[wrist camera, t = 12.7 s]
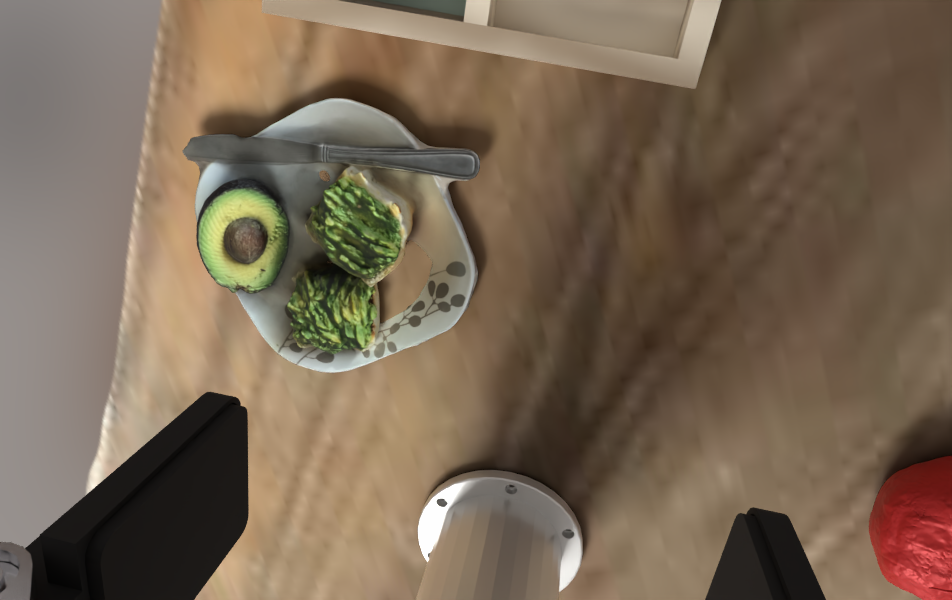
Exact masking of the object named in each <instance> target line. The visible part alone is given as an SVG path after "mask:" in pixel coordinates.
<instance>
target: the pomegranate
mask: <svg viewBox="0 0 952 600" xmlns="http://www.w3.org/2000/svg"><path fill="white" fill-rule="evenodd" d="M869 534H870V538H871V542H872V545H873V548H874V551H875V554H876V557H877V561H878V564H879V567H880V569H881V572H882V574H883V575H884V577H885V578H886V579H887V581H889V582H890V583H893V585H895V586H897V587H899V588H900V589H903V590H905V591H908V592H910V593H913V594H914V595H916V596H918V597H919V598H921V599H922V600H952V456H946V457H941V458H937V459H933V460H930V461H927V462H923V463H918V464H913V465H911V466H910V467H908V468H906V469H903V470H899V471H897V472H896V473H895V474H893V475H892V476H891V477H890V478H889V479H888V480H887V481H886V482H885V483H884V485H883V486H882V487H881V489H880V491H879V493H878V495H877V497H876V500H875V504H874V506H873V510H872V512H871V515H870V520H869Z"/></svg>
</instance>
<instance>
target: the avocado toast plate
mask: <svg viewBox="0 0 952 600" xmlns="http://www.w3.org/2000/svg"><path fill="white" fill-rule="evenodd" d="M183 153H184V155H185V156H186V157H187V159H188V160H191V161H194V162H195V163H196V164H197V165H198V166H199V169H200V177H199V183H198V187H197V191H196V198H195V214H196V219H197V246H198V250H199V253H200V256H201V259H202V261H203V264H204V265H205V267H206V269H207V271H208V273H209V274H210V275H211V277H212V278H213V279H214V280H215V281H216V283H217V284H219V285H220V286H222V287H226V288H228V289H229V290H230V291H231V292H232V293H235V294H236V295H237V296H238V298H239V299H240V301H241V304H242V306H243V307H244V309H245V310H246V312H247V313H248V315H249V316H250V318H251V320H252V322H253V323H254V325H255V326H256V328H257V329H258V331H259V332H260V334H261V335H262V336H263V338H264V339H265V340H266V342H267V343H268V344H269V345H270V346H271V347H272V348H273V350H274V351H275V352H276V353H277V354H279V355H280V356H282V357H283V358H285V359H286V360H288V361H290V362H292V363H294V364H296V365H299V366H302V367H305V368H308V369H311V370H315V371H318V372H326V373H336V372H343V371H349V370H352V369H355V368H358V367H361V366H364V365H367V364H369V363H372V362H374V361H377V360H379V359H381V358H384V357H386V356H388V355H391V354H394V353H396V352H399V351H401V350H404V349H406V348H408V347H412V346H416V345H419V344H421V343H422V342H424V341H427V340H429V339H431V338H432V337H434V336H436V335H438V334H441V333H443V332H445V331H447V330H449V329H450V328H451V327H452V326H453V325H455V324H456V322H457V321H458V320H459V318H460V317H461V316H462V314H463V313H464V312H465V311H466V309H467V308H468V307H469V302H470V299H471V297H472V294H473V292H474V288H475V285H476V282H477V279H478V269H477V265H476V261H475V257H474V255H473V252H472V250H471V247H470V244H469V242H468V239H467V236H466V233H465V231H464V229H463V225H462V223H461V221H460V219H459V217H458V215H457V213H456V211H455V209H454V207H453V204H452V200H451V197H450V194H449V190H448V185H449V183H450V182H452V181H456V180H461V181H468V180H470V179H472V178H474V177H476V175H477V174H478V172H479V169H480V159H479V156H478V155H477V154H476V153H475V152H474V151H472V150H470V149H465V148H462V149H461V148H443V147H432V146H428V145H426V144H424V143H422V142H421V141H419V140H418V139H417V138H416V137H415V136H414V135H413V134H412V133H411V132H409V130H408V129H407V128H406V127H405V126H404V125H403V124H402V123H401V122H399V121H398V120H397V119H396V118H395V117H393V116H391V115H389V114H386V113H384V112H382V111H380V110H378V109H376V108H374V107H371V106H369V105H366V104H363V103H360V102H356V101H354V100H351V99H347V98H329V99H325V100H323V101H319V102H316V103H313V104H310V105H308V106H306V107H304V108H302V109H299V110H298V111H296V112H294V113H293V114H291V115H289V116H287V117H286V118H283V119H282V120H280V121H278V122H276V123H274V124H272V125H270V126H269V127H267V128H266V129H264V130H263V131H261V132H259V133H258V134H257V135H254V136H251V137H248V138H242V137H239V136H237V135H234V134H214V135H205V136H199V137H193V138H191V139H190V141H189V143H188V145H187V146H186V147H185V149H184V150H183ZM322 170H325V171H327V172H328V174H329V175H330V181H328V182H327V181H323V180H322V179H321V178H320V176H319V172H320V171H322ZM409 240H412V241H413V242H415V243H416V244H417V245H418V246H419V247H420V248H422V249H423V250H424V252H425V253H426V254H427V256H428V257H429V258H430V259H431V261H432V263H433V264H432V268H431V272H430V276H429V279H428V281H427V284H426V285H425V287H424V288H423V290H422V292H421V294H420V296H419V297H418V298H417V300H416V301H415V302H414V303H413V304H412V305H410V306H409V307H408V308H407V309H406V310H405V311H403V312H402V313H400V314H398V315H396V316H395V317H393V318H391V319H389V320H387V321H385V322H383V323H380V308H379V304H380V301H379V292H378V286H377V282H378V281H380V280H382V279H383V278H384V277H386V276H387V275H388V274H389V273H391V272H392V271H393V270H395V268H396V267H397V266H398V265H399V264H400V263H401V261H402V259H403V257H404V254H405V246H406V241H409ZM329 260H331V261H332V262H333V263H334V264H328V263H327V261H329Z"/></svg>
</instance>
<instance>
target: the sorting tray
mask: <svg viewBox="0 0 952 600" xmlns="http://www.w3.org/2000/svg"><path fill="white" fill-rule="evenodd" d="M720 3H721V0H262V13H267V14H273V15H278V16H284V17H290V18H295V19H301V20H307V21H312V22H318V23H324V24H329V25H335V26H341V27H346V28H352V29H358V30H363V31H369V32H375V33H380V34H386V35H392V36H397V37H403V38H409V39H414V40H420V41H426V42H431V43H437V44H443V45H448V46H454V47H460V48H465V49H471V50H477V51H482V52H488V53H494V54H499V55H505V56H511V57H516V58H522V59H528V60H533V61H539V62H545V63H550V64H556V65H562V66H567V67H573V68H579V69H584V70H590V71H596V72H601V73H607V74H613V75H618V76H624V77H630V78H635V79H641V80H647V81H652V82H658V83H664V84H669V85H675V86H681V87H686V88H692V89H696V86H697V82H698V79H699V76H700V72H701V69H702V65H703V62H704V58H705V55H706V51H707V48H708V45H709V41H710V38H711V34H712V31H713V27H714V24H715V21H716V17H717V14H718V10H719V7H720Z"/></svg>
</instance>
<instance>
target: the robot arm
mask: <svg viewBox="0 0 952 600" xmlns="http://www.w3.org/2000/svg"><path fill="white" fill-rule="evenodd" d="M247 521H248V417H247V409H246V408H245V407H243V406H241V405H240V401H239V399H238V398H236V397H232V396H228V395H223V394H218V393H214V392H207V393H205V394H203V395H202V396H201V397H200V398H199V399H198V400H196V401H195V402H194V403H193V404H192V405H191V406H189V407H188V408H187V409H186V410H185V411H184V412H182V413H181V414H180V415H179V416H178V417H177V418H175V419H174V420H173V421H172V422H171V423H170V424H168V425H167V426H166V427H165V428H164V429H163V430H161V431H160V432H159V433H158V434H157V435H156V436H154V437H153V438H152V439H151V440H150V441H149V442H147V443H146V444H145V445H144V446H143V447H142V448H140V449H139V450H138V451H137V452H136V453H135V454H133V455H132V456H131V457H130V458H129V459H128V460H127V461H125V462H124V463H123V464H122V465H121V466H120V467H118V468H117V469H116V470H115V471H114V472H113V473H111V474H110V475H109V476H108V477H107V478H106V479H104V480H103V481H102V482H101V483H100V484H99V485H97V486H96V487H95V488H94V489H93V490H92V491H90V492H89V493H88V494H87V495H86V496H85V497H83V498H82V499H81V500H80V501H79V502H78V503H76V504H75V505H74V506H73V507H72V508H71V509H70V510H69V511H67V512H66V513H65V514H64V515H62V516H61V517H60V518H59V519H58V520H57V521H55V522H54V523H53V524H52V525H51V526H50V527H48V528H47V529H46V530H45V531H44V532H43V533H42V534H40V536H39V537H38V538H37V539H36V540H34V541H33V542H32V543H31V544H30V545H29V546H28V547H26V548H24V547H23V546H20V545H17V544H14V543H11V542H0V600H194V599H195V598H196V596H197V595H198V594H199V592H200V591H201V589H202V588H203V587H204V585H205V584H206V583H207V581H208V580H209V579H210V577H211V576H212V574H213V573H214V572H215V570H216V569H217V568H218V566H219V565H220V564H221V562H222V561H223V559H224V558H225V557H226V555H227V554H228V553H229V551H230V550H231V549H232V547H233V546H234V544H235V543H236V542H237V540H238V539H239V538H240V536H241V535H242V533H243V531H244V529H245V527H246V524H247ZM418 540H419V544H420V548H421V551H422V554H423V555H424V557H425V559H426V561H427V565H426V568H425V572H424V575H423V578H422V581H421V585H420V588H419V591H418V594H417V597H416V600H559V592H560V591H562V590H563V589H564V588H565V587H567V586H568V585H569V584H570V582H571V581H572V580H573V579H574V577H575V576H576V574H577V572H578V570H579V567H580V565H581V560H582V554H583V538H582V533H581V528H580V525H579V523H578V521H577V518H576V516H575V514H574V513H573V511H572V510H571V509H570V507H569V506H568V505H567V503H566V502H565V501H564V500H563V499H562V498H561V497H560V496H559V495H557V494H556V493H555V492H554V491H552V490H551V489H549V488H548V487H546V486H545V485H543V484H542V483H540V482H538V481H535V480H533V479H531V478H529V477H527V476H523V475H520V474H516V473H512V472H507V471H499V470H478V471H473V472H468V473H463V474H461V475H458V476H456V477H453V478H451V479H449V480H447V481H446V482H444V483H443V484H441V485H440V486H438V487H437V488H436V489H435V491H434V492H433V493H432V494H431V495H430V496H429V498H428V499H427V501H426V503H425V505H424V507H423V510H422V513H421V515H420V518H419V524H418ZM705 600H826V599H825V596H824V594H823V592H822V590H821V588H820V585H819V583H818V581H817V579H816V576H815V574H814V572H813V570H812V568H811V565H810V563H809V561H808V559H807V556H806V554H805V552H804V550H803V548H802V545H801V543H800V541H799V539H798V537H797V534H796V532H795V530H794V528H793V525H792V523H791V521H790V519H789V518H788V516H787V515H785V514H782V513H777V512H772V511H768V510H763V509H758V508H750V510H749V511H748V512H747V514H742V513H740V514H738V515H737V516H736V518H735V521H734V523H733V526H732V529H731V532H730V534H729V537H728V540H727V542H726V545H725V548H724V550H723V553H722V556H721V559H720V561H719V564H718V567H717V569H716V572H715V575H714V578H713V580H712V583H711V586H710V588H709V591H708V594H707V596H706V599H705Z"/></svg>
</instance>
